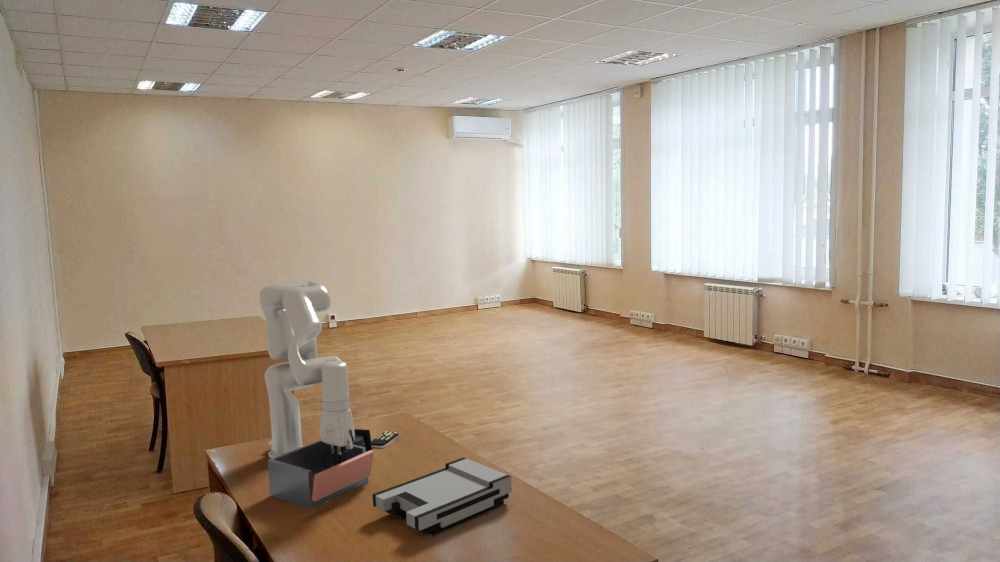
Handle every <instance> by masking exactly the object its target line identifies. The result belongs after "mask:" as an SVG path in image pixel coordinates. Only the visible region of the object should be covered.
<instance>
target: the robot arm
mask: <svg viewBox="0 0 1000 562" xmlns="http://www.w3.org/2000/svg"><path fill="white" fill-rule="evenodd" d="M258 298H259V304H260V308H261V310H262V313H263V315H264V318H265V324H266V325H265V326H266V341H267V352H268V355H269V357H270V358H271V359H272V360H274V361H282V360H288V361H286V362H285V361H284V362H279V363H276V364H272V365H270V366H269V367H268V368H266V370H265V372H264V381H265V385H266V390H267V395H268V402H269V411H270V425H271V427H270V428H271V439H270V441H268V442H267V445H268V446H270V447H271V450H270V451H268V458H269V459H272V458H274V457H277V456H279V455H282V454H285V453H287V452H290V451H292V450H295V449H297V448H300V447H302V446H304V445H303V440H302V439H303V438H302V427H301V426H302V424H301V423H302V422H301V412H300V411H301V410H300V402H299V400H298V398H297V397H296V396H295V395H294V394H293V393H292V391H296V390H299V389H304V388H309V387H312V386H315V385H319V384H321V394H322V395H321V396H322V397H321V398H322V399H321V400H322V408H321V411H320V417H319V418H320V421H319V422H320V423H319V431H320V433H319V435H320V439H321V441H322V442H324V443H326V444H327V445H329V446H330V448H331V451H332V453H333V456H334V466H336V465H338V464H340V463H342V462H345V461H346V453H345V452H347V450H350V449H353V442H354V440H355V431H354V429H355V424H354V418H353V413H352V409H351V402H350V401H351V400H350V386H349V385H350V384H349V383H350V382H349V369H348V368H349V367H348V365H347V364H348V363H346V362H344V361H342V360H341V359H340V358H339V357H338V356H337V355H328V356H321V357H318V341H317V339H316V338H317V337H318V336H319V335H320V334H321V332H322V331H323V325H322V323H321V320H320V317H319V315H318V313H321V312H326V311H328V310H329V309H330V307H331V296H330V293H329V291H328V290H327V288H326V286H324V285H322V284H320V283H319V282H318V283H317V282H315V281H312V280H299V281H291V282H278V283H272V284H268V285H264V286H263V287H262V288H261V290H260V291H259V297H258Z"/></svg>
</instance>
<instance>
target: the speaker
mask: <svg viewBox="0 0 1000 562" xmlns="http://www.w3.org/2000/svg"><path fill="white" fill-rule="evenodd" d="M354 431H355V440H354V442H353V444H354V445H358V446H362V447H366V452H367V451H370V450H372V451H373V447H372V444H371V441H372V438H371V430H370V429H362V428H354Z"/></svg>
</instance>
